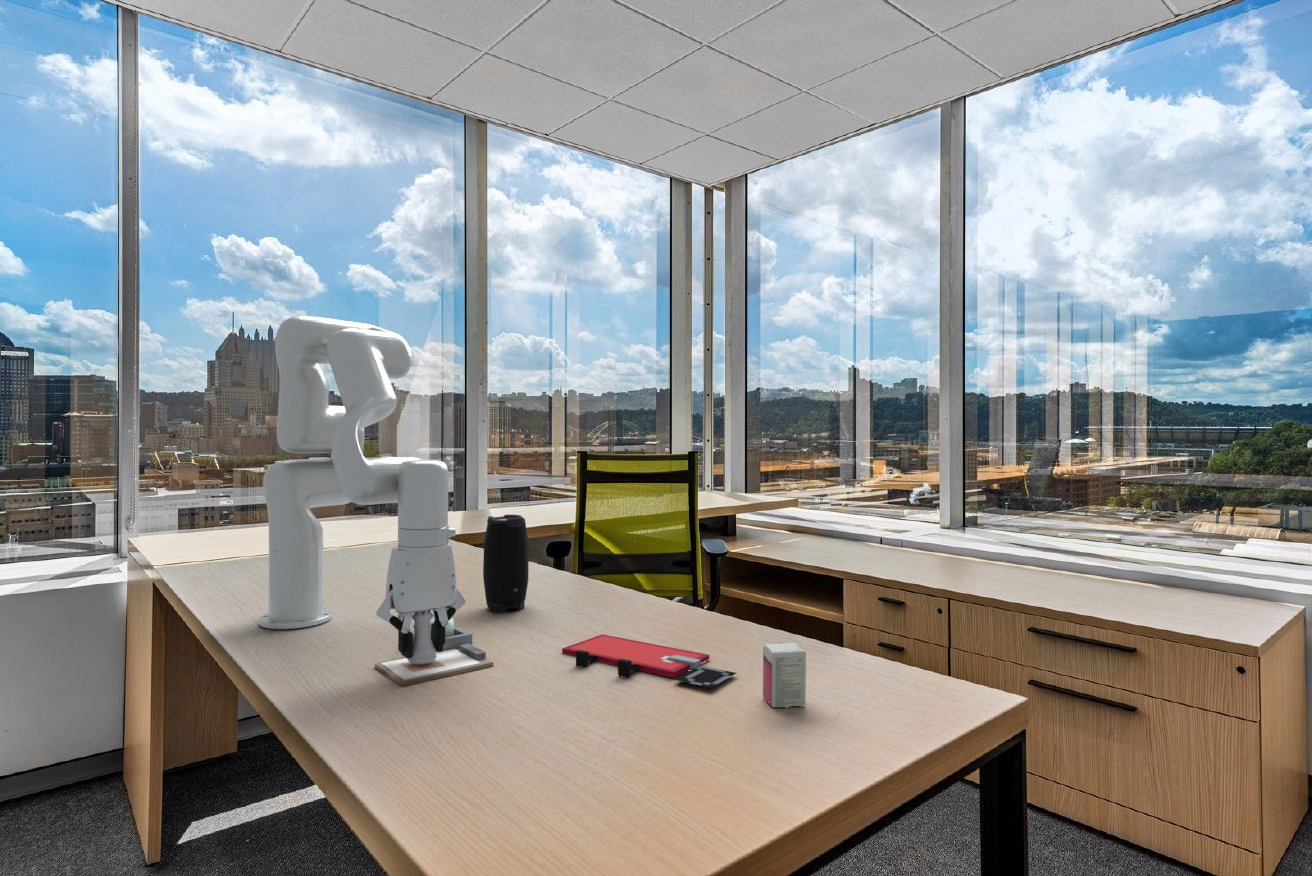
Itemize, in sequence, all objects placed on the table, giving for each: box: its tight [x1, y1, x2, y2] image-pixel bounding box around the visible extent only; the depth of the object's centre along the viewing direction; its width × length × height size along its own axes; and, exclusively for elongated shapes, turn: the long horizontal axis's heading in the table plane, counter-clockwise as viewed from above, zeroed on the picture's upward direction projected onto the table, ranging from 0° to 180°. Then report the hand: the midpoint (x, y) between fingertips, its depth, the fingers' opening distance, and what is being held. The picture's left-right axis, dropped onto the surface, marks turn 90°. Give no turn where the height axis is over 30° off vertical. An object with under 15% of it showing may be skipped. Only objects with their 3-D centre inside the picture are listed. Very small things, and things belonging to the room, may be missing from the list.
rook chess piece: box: [408, 610, 437, 664], centre depth 114 cm, size 4×4×8 cm
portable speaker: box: [482, 514, 530, 613], centre depth 152 cm, size 9×9×20 cm
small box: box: [762, 642, 807, 708], centre depth 102 cm, size 5×4×8 cm
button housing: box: [410, 624, 473, 652], centre depth 125 cm, size 8×8×2 cm
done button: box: [430, 617, 455, 637], centre depth 125 cm, size 4×4×3 cm
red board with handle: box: [561, 633, 737, 689], centre depth 118 cm, size 30×3×15 cm
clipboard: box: [374, 644, 494, 688], centre depth 115 cm, size 11×15×2 cm
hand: (421, 651), depth 114 cm, fingers closed on rook chess piece, 4 cm apart
